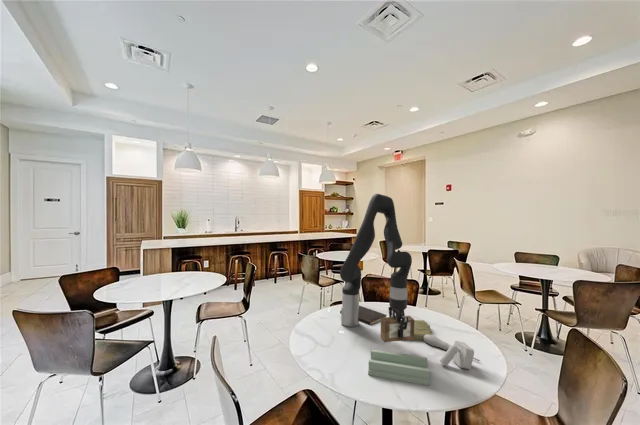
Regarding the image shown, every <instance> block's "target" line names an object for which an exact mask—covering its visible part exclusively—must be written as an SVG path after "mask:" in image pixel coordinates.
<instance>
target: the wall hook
mask: <svg viewBox="0 0 640 425" xmlns="http://www.w3.org/2000/svg"><path fill="white" fill-rule="evenodd" d="M450 345H451V346H450V347H449V349H448V350H445V351H446V352H445V353H444V354H443V356H442V357H441V358H440V359H439V362H440V364H442V365H443V366H445V367H446V368H447V367H448V366H449V364H450V362H451V361H453V362H454V363H455V364H456V365H457V366H458V367H459V368H461V369H466V370H471V368H472V363H473V360H474V359H473V357H474V356H475V350H474V349H473V347H471V346H470V345H468V344H467V343H466V342H464V341H459V340H455V341H454V344H450Z"/></svg>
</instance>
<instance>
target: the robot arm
mask: <svg viewBox="0 0 640 425" xmlns="http://www.w3.org/2000/svg"><path fill="white" fill-rule="evenodd" d="M366 208H367V209H366V211H365V215H364V218H363V220H362V222H361V225H360V227H359V229H358V232H357V234H356V236H355V239H354V241H353V243H352V245H351V248H350V250H349V253H348V255H347V257H346V258H345V260H344V262H343V264H342V266H341V267H340V270H339V277H340V279H341V280H342V281H343V282H345V284H344V285H343V287H342V290H341V291H342V292H341V294H342V296H341V297H342V302H341V303H342V304H341V305H342V306H341V309H340V311H341V316H340V317H341V318H340V319H341V320H340V321H341V322H340V324H341V326H345V327H347V328H349V327H350V328H355V327H358V326H359V325H360V324H359V323H360V321H359V306H360V289H361V286H362V271H361V267H360V265H359V264H360V262H361V260H362V259H363V258H364V257H365V256H366V254H368V252H369V251H370V249H371V248H372V245H373V243H374V240H375V238H376V231H375V230H376V229H375V219H376V217H377V214H382V215H384V218H385V221H386V222H385V226H384V229H383V236H384V240H385V243H386V255H387V256H386V262H387V264H388V266H389V267H390V268H393V269H398V268H399V270H397V271H394V272H392V273H391V274H390V288H389V306H388V316H389V317H392V318H395V319H396V323H397V324H398V337H399V338H402V337H403V330H404V329H407V324H408V317H405V316H406V313H405V310H406V309H407V307H408V277H409V274H410V270H411V266H412V263H413V261H412V260H413V257H412V256H411V254H410V253H409V252H408V251H396V250H399V249H401V248H402V247H403V240H402V237H401V234H400V232H399V227H398V224H397V223H398V222H397V216H396V210H395V203H394V200H393V198H392V197H390V196H388V195H385V194H380V193H374V194H373V195H372V196H371V198H370V200H369V203H368V206H367V207H366ZM398 320H401V321H400V322H399V321H398ZM400 323H401V325H400Z"/></svg>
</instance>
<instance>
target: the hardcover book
mask: <svg viewBox="0 0 640 425" xmlns="http://www.w3.org/2000/svg"><path fill="white" fill-rule="evenodd" d="M339 313H340V314H341V310H340V312H339ZM387 316H388V314H386V313H382V312H380V311H376V310H374V309H371V308H368V307H365V306H362V305H359V323H360V322H362V323H363V324H365V325H368V326H371V325H373V324H376V323H378V322H381V318H386V317H387Z"/></svg>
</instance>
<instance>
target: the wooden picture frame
mask: <svg viewBox="0 0 640 425" xmlns="http://www.w3.org/2000/svg"><path fill="white" fill-rule="evenodd" d="M405 317H408V324H407V329H404V330H403V337H402V338H399V337H398V324H397V323H396V319H395V318H392V317H387V316H386V318H381V320H380V339H381V340H382V341H383V342H384V343H391V342H402V341H415V340H414V320H415V318H413V317H412V316H410V315H405ZM398 321H399V322H400V321H401V320H398ZM400 325H401V323H400Z"/></svg>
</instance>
